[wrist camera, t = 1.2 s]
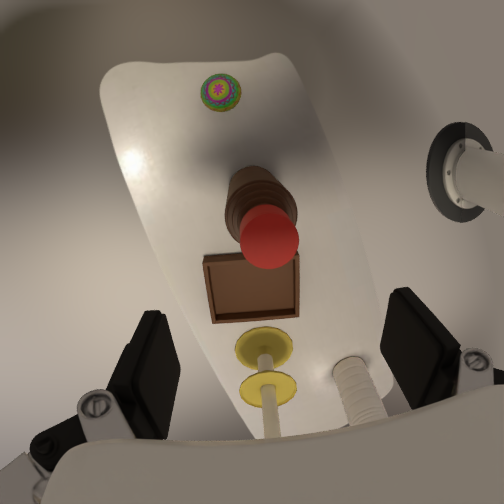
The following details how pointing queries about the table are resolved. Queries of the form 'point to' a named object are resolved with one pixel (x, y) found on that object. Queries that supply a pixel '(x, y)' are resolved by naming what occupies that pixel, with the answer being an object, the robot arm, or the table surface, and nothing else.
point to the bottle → (255, 196)
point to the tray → (250, 289)
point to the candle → (266, 373)
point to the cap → (268, 237)
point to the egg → (220, 92)
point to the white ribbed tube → (358, 392)
